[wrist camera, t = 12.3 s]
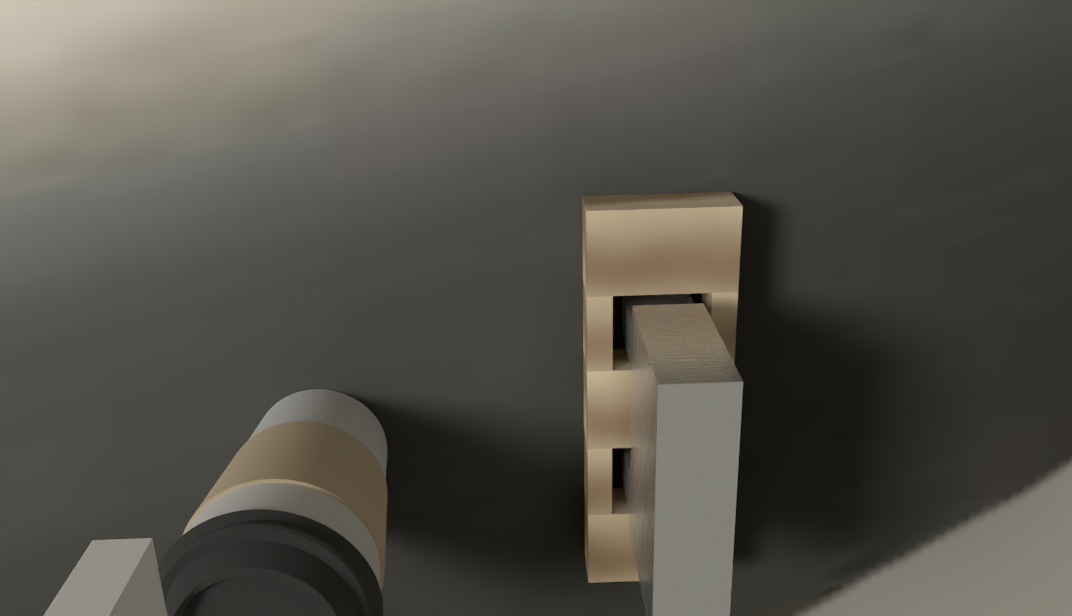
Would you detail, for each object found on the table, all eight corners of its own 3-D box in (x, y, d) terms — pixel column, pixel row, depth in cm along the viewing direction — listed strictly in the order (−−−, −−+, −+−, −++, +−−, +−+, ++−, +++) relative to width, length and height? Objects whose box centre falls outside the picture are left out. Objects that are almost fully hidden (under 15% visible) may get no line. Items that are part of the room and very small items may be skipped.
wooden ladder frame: (582, 196, 47) (586, 210, 45) (731, 191, 47) (742, 206, 45) (584, 554, 55) (588, 582, 52) (713, 549, 55) (722, 577, 52)
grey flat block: (622, 275, 49) (657, 384, 38) (688, 273, 49) (743, 381, 38) (620, 489, 53) (651, 643, 42) (681, 486, 53) (728, 640, 42)
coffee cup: (433, 402, 51) (406, 588, 37) (379, 544, 54) (336, 765, 40) (258, 346, 50) (162, 518, 36) (213, 495, 53) (108, 707, 39)
